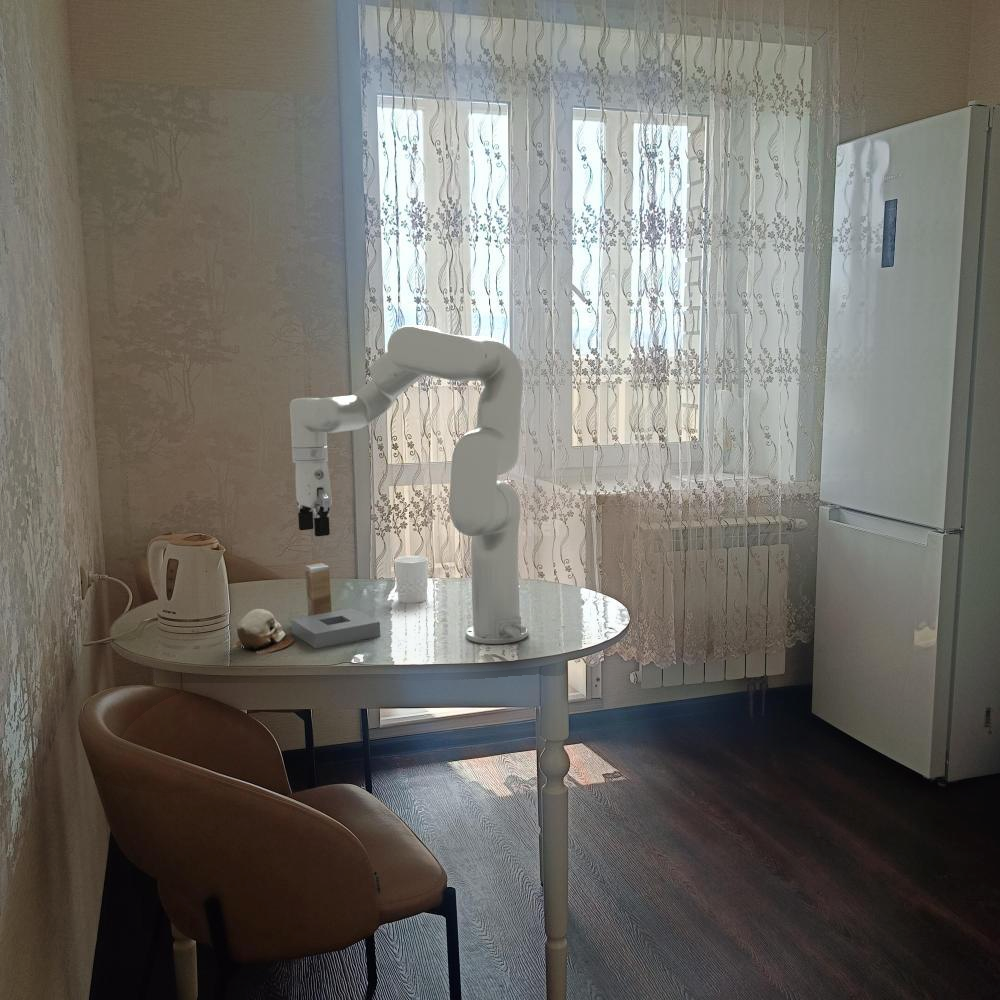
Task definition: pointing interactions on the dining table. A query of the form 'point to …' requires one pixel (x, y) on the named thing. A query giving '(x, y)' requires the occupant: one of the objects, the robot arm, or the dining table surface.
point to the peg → (318, 589)
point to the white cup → (411, 578)
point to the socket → (335, 628)
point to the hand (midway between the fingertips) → (314, 532)
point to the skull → (261, 632)
